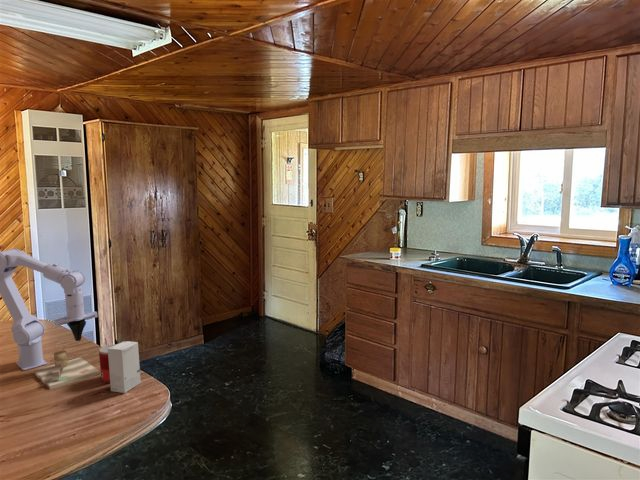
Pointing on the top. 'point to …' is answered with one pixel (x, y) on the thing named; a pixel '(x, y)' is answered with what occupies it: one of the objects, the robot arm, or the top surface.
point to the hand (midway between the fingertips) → (77, 340)
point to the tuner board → (67, 373)
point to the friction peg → (59, 364)
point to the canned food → (104, 363)
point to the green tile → (60, 379)
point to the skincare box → (124, 366)
